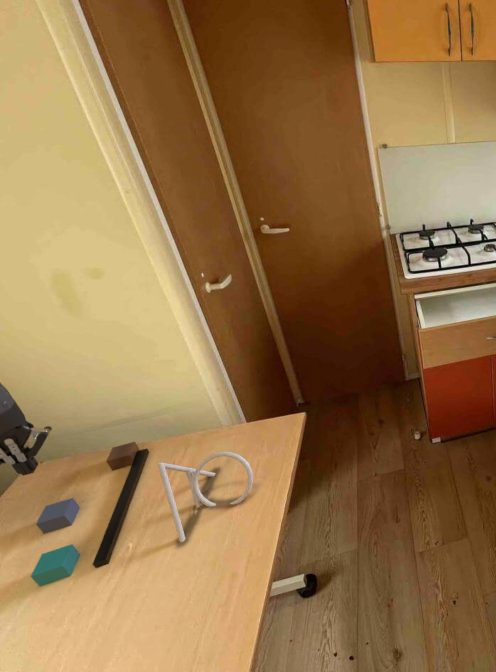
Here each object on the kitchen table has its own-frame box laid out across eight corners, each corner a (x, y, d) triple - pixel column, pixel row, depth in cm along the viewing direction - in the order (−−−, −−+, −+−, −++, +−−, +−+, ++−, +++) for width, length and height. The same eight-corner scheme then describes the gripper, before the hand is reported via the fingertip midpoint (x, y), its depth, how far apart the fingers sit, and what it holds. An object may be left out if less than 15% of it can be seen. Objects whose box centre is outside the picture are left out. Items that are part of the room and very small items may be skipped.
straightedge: (98, 571, 82) (92, 564, 81) (141, 457, 106) (137, 450, 105) (111, 567, 83) (105, 559, 82) (151, 455, 107) (147, 448, 106)
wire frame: (279, 492, 103) (245, 526, 87) (224, 510, 102) (180, 548, 86) (259, 422, 103) (221, 443, 88) (204, 439, 102) (156, 463, 86)
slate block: (46, 537, 88) (35, 524, 86) (56, 519, 92) (45, 505, 90) (74, 528, 90) (64, 515, 88) (82, 510, 93) (73, 497, 91)
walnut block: (114, 474, 102) (106, 461, 100) (120, 460, 106) (112, 447, 103) (137, 467, 104) (129, 454, 102) (142, 454, 107) (135, 441, 105)
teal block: (42, 590, 79) (30, 576, 77) (53, 567, 83) (41, 553, 81) (73, 579, 81) (62, 565, 79) (83, 557, 85) (72, 543, 82)
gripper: (40, 388, 87) (77, 448, 95) (-52, 407, 82) (-4, 469, 89) (22, 411, 81) (64, 473, 89) (-78, 433, 76) (-24, 497, 83)
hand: (30, 471), depth 89 cm, fingers closed
